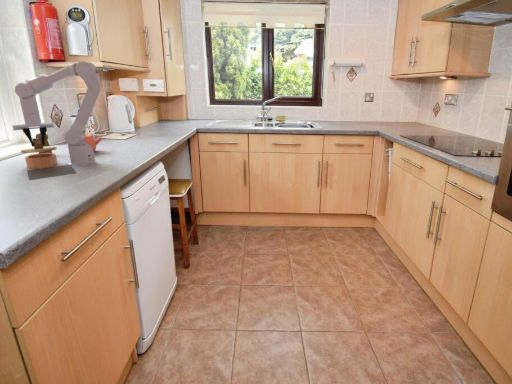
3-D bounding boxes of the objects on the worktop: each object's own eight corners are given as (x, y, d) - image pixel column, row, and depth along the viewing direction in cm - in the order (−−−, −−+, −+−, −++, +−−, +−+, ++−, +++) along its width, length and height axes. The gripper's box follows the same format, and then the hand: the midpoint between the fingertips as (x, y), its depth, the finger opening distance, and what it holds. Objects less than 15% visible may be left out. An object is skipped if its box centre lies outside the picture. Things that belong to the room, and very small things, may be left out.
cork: (50, 153, 166) (45, 131, 163) (55, 155, 163) (50, 133, 159) (36, 155, 162) (31, 133, 158) (41, 157, 158) (36, 134, 155)
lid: (63, 148, 144) (61, 136, 142) (36, 153, 132) (33, 140, 131) (42, 148, 148) (39, 136, 147) (13, 152, 136) (10, 140, 135)
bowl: (63, 163, 147) (61, 153, 145) (42, 169, 137) (40, 159, 135) (43, 162, 150) (40, 152, 148) (21, 168, 139) (18, 157, 138)
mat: (70, 165, 144) (70, 164, 144) (76, 174, 131) (76, 173, 131) (27, 171, 135) (26, 170, 135) (29, 181, 122) (29, 180, 122)
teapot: (91, 148, 178) (88, 130, 174) (105, 151, 172) (102, 131, 169) (66, 153, 166) (62, 133, 163) (79, 156, 161) (76, 135, 157)
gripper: (50, 111, 143) (56, 142, 147) (9, 113, 135) (17, 146, 139) (52, 112, 137) (58, 144, 142) (9, 115, 129) (18, 148, 134)
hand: (38, 145), depth 140 cm, fingers closed on lid, 3 cm apart
